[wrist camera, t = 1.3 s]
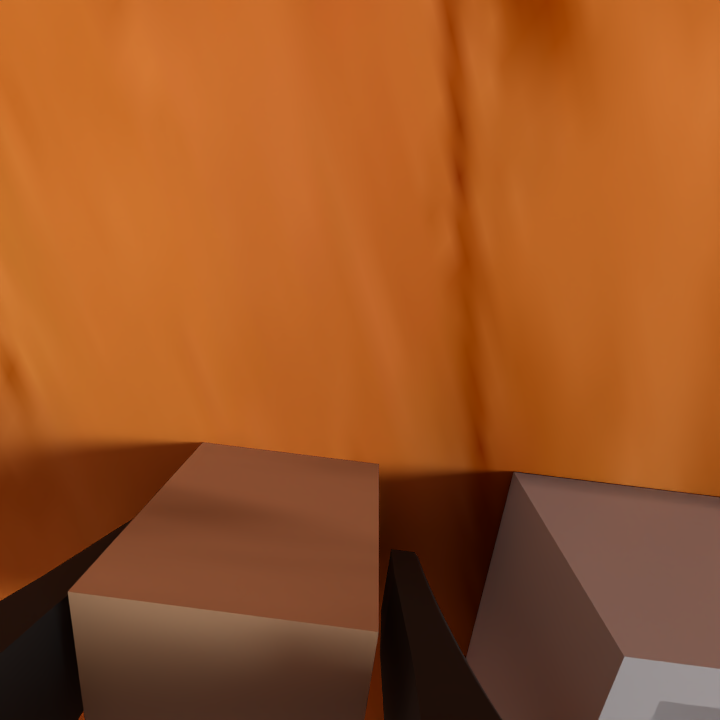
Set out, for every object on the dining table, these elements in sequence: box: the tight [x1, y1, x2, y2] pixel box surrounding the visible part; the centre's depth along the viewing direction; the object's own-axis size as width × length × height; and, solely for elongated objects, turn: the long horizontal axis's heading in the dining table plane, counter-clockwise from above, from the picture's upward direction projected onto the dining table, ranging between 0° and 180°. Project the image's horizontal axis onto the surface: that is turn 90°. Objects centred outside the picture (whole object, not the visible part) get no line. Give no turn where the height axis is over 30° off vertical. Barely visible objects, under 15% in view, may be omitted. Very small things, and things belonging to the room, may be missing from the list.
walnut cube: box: [68, 442, 379, 720], centre depth 9 cm, size 5×5×5 cm
